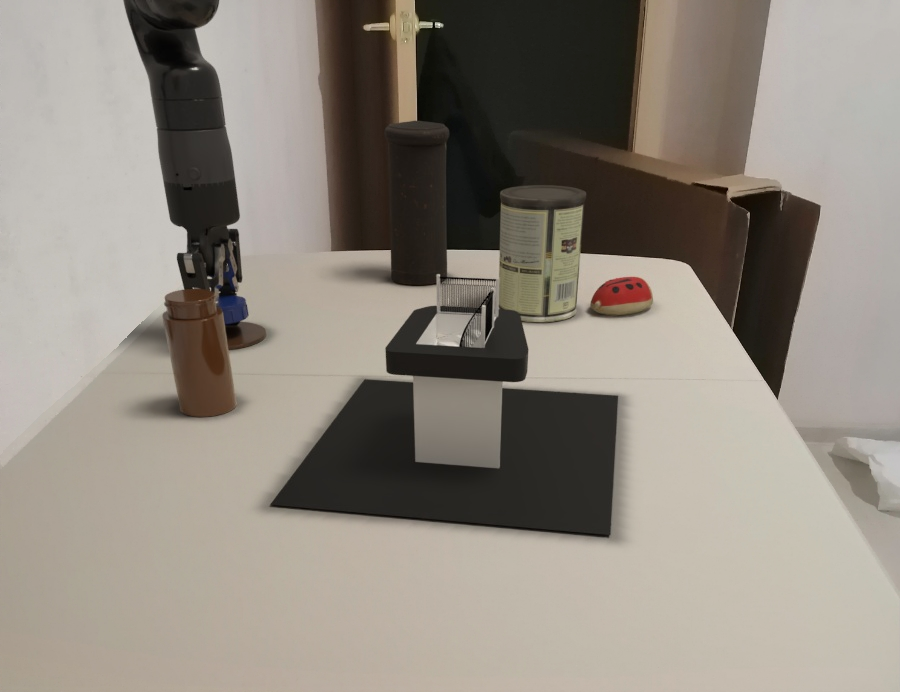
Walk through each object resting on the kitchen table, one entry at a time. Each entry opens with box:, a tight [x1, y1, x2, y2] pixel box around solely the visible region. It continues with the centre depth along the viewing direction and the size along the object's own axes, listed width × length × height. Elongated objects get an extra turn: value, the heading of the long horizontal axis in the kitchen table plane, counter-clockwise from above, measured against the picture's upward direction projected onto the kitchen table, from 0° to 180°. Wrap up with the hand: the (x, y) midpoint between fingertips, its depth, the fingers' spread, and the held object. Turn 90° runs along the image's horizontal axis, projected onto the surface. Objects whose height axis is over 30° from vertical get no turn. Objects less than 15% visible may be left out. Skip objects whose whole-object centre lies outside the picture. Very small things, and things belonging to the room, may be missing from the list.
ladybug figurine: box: [590, 276, 654, 316], centre depth 109 cm, size 7×10×4 cm
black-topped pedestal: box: [270, 274, 619, 536], centre depth 71 cm, size 28×26×13 cm
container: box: [384, 120, 450, 286], centre depth 117 cm, size 9×9×20 cm
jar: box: [161, 288, 238, 418], centre depth 80 cm, size 5×5×11 cm
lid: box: [219, 295, 249, 324], centre depth 98 cm, size 6×6×2 cm
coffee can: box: [498, 184, 587, 323], centre depth 105 cm, size 10×10×14 cm
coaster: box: [225, 321, 267, 351], centre depth 100 cm, size 10×10×1 cm
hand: (222, 332), depth 100 cm, fingers closed on lid, 5 cm apart
